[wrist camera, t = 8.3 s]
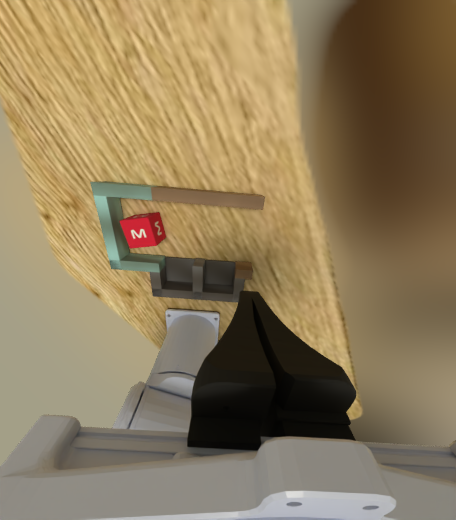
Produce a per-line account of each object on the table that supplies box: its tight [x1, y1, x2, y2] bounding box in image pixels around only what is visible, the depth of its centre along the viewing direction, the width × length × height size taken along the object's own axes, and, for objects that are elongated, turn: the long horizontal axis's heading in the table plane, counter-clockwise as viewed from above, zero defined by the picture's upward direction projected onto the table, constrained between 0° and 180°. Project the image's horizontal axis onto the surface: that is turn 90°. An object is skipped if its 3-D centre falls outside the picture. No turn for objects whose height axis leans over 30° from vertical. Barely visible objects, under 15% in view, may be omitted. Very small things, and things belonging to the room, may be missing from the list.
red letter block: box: [119, 212, 166, 248], centre depth 19 cm, size 3×3×3 cm
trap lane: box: [90, 182, 265, 302], centre depth 20 cm, size 13×17×2 cm
